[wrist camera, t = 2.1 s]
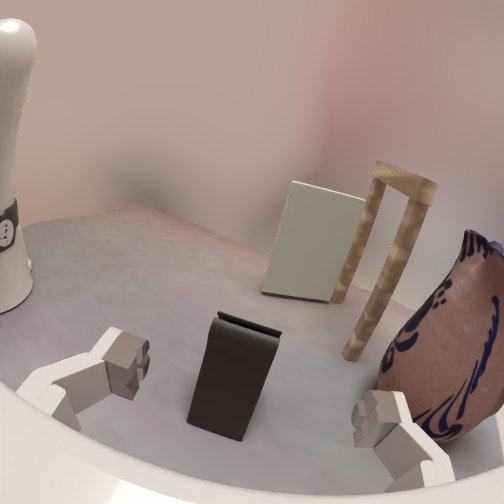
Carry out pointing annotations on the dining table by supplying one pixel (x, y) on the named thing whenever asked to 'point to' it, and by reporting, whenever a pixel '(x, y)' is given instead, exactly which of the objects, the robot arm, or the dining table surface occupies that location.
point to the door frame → (399, 254)
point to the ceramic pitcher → (454, 346)
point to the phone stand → (232, 374)
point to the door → (312, 241)
